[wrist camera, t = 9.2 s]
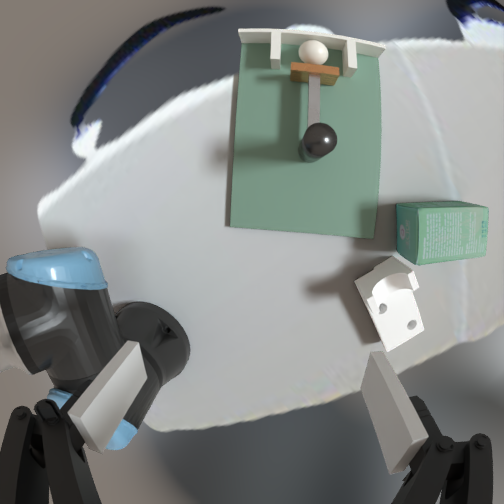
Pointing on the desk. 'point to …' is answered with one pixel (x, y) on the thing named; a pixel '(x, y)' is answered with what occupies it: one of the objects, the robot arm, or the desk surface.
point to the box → (441, 231)
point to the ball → (313, 52)
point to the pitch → (293, 129)
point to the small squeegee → (315, 110)
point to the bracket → (391, 301)
